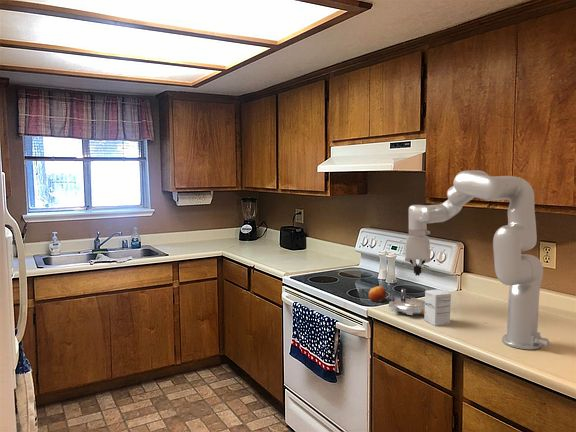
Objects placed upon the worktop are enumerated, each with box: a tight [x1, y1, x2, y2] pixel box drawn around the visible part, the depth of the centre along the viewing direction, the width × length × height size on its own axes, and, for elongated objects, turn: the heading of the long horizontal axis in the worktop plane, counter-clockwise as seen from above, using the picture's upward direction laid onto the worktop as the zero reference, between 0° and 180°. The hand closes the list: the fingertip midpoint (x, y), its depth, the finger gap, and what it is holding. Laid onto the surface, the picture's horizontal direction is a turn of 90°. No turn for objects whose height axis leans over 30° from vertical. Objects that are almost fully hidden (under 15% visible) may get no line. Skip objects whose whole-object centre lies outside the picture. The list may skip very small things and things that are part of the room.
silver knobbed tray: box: [388, 288, 425, 316], centre depth 200 cm, size 19×19×7 cm
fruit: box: [368, 285, 387, 303], centre depth 218 cm, size 8×8×8 cm
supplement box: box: [423, 288, 452, 327], centre depth 186 cm, size 7×7×13 cm
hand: (417, 274), depth 203 cm, fingers closed
